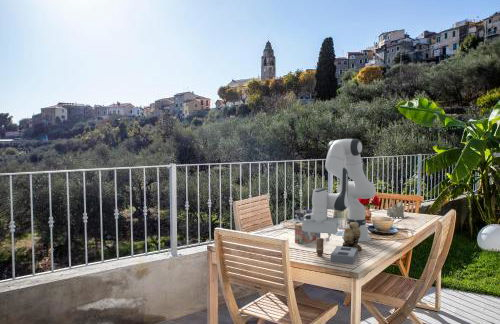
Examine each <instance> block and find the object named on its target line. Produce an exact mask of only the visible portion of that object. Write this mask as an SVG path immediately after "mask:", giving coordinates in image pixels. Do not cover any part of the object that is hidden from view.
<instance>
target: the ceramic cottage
mask: <svg viewBox="0 0 500 324" xmlns="http://www.w3.org/2000/svg"><path fill="white" fill-rule="evenodd" d="M404 208H405V207H404V206H403V200H400V201H398V202H397V204H393V205H392V206H391V207H390V208H388V209H387V211H386V216H389V217H404V216H405V215H404V214H405V213H404Z"/></svg>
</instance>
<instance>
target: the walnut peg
mask: <svg viewBox="0 0 500 324" xmlns="http://www.w3.org/2000/svg"><path fill="white" fill-rule="evenodd" d="M315 243H316V244H315V246H316V247H315V249H316V251H315V253H316V256H317V257H318V258H319V257H320V258H321V257H323V253H324V238H323V237H320V238H316V240H315Z"/></svg>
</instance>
